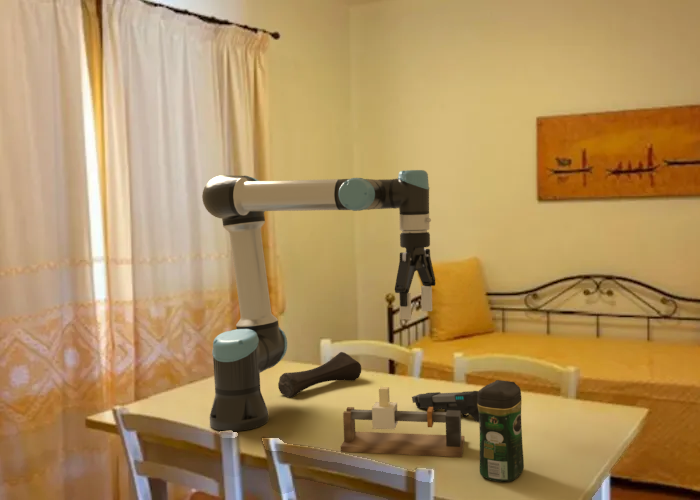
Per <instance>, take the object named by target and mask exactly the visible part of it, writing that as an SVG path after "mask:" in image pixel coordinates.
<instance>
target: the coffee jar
mask: <svg viewBox="0 0 700 500" xmlns="http://www.w3.org/2000/svg"><path fill="white" fill-rule="evenodd" d="M477 391H478V393H477V395H478V404H477V405H478V411H479V422H478V423H479V473H480V476H482V477H484V478H485V479H487V480H489V481H491V482H492V481H493V482H497V483H500V482H512V481H514V480H516V479H517V478H519V476H520V475H521V474H522V473H523V471H524V469H525V468H524V466H525V463H524V460H525V459H524V449H523V447H524V446H523V430H522V401H523V400H522V391H521V387H520V386H519V385H518V384H516V382H515V381H510V380H509V381H508V380H499V379H497V380H496V379H495V381H493V382H490V383H488V384H487V385H485V386H483V387H482V388H480V389H479V390H477Z"/></svg>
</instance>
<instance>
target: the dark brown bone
mask: <svg viewBox="0 0 700 500" xmlns="http://www.w3.org/2000/svg"><path fill="white" fill-rule="evenodd" d="M361 374H362V365H361V363H360V362H359V361H357V360H356V359H354V357H351V355H349V354H348V353H346V352H343V351H340V352H338V353H337V354H336V355H335V356H334V357H333V358H331V359H330V360H329V361H327V362H326V363H323V364H322V365H320V366H317V367H314V368H312V369H308V370H303V371H294V372H284V373H282V374H281V375H280V377H279V380H278V382H277V383H278V384H277V386H278V390H279V392H280V394H282V396H284V397H286V398H290V399H291V398H293V397H295V396H297V395H298V394H299V393H301V392H302V391H305V390H306V389H308V388H310V387H312V386H316V385H318V384H321V383H326V382H332V381H333V382H334V381H341V382H342V381H344V382H345V381H348V382H355V381H356V380H357V379H358V378H359V377H361Z"/></svg>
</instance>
